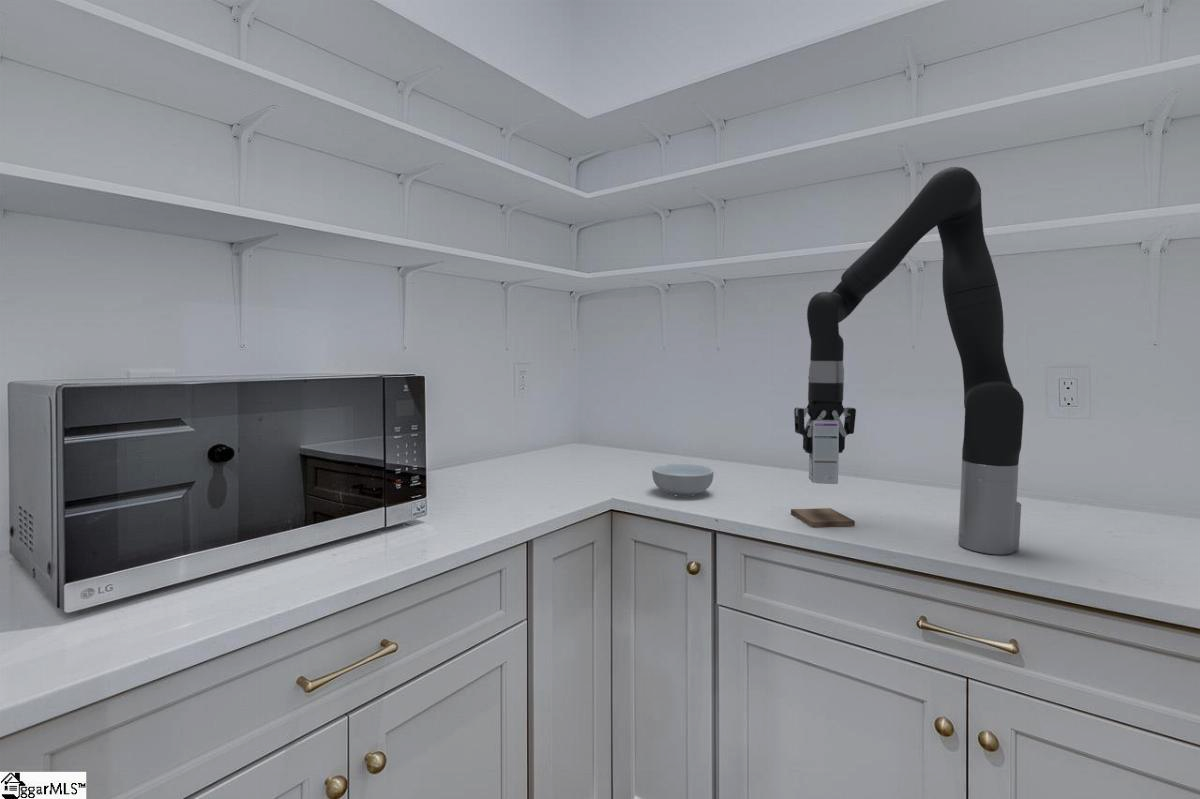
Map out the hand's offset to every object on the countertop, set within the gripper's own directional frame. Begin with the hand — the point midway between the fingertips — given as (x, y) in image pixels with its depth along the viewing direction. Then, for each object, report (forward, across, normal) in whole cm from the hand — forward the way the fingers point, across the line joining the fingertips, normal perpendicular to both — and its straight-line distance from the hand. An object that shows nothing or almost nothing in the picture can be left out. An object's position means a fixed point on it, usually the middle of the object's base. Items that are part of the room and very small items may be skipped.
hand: (823, 452), depth 132 cm
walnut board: (+16, 0, 0) cm, 16 cm away
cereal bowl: (+16, -26, +29) cm, 42 cm away
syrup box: (+7, 0, 0) cm, 7 cm away
